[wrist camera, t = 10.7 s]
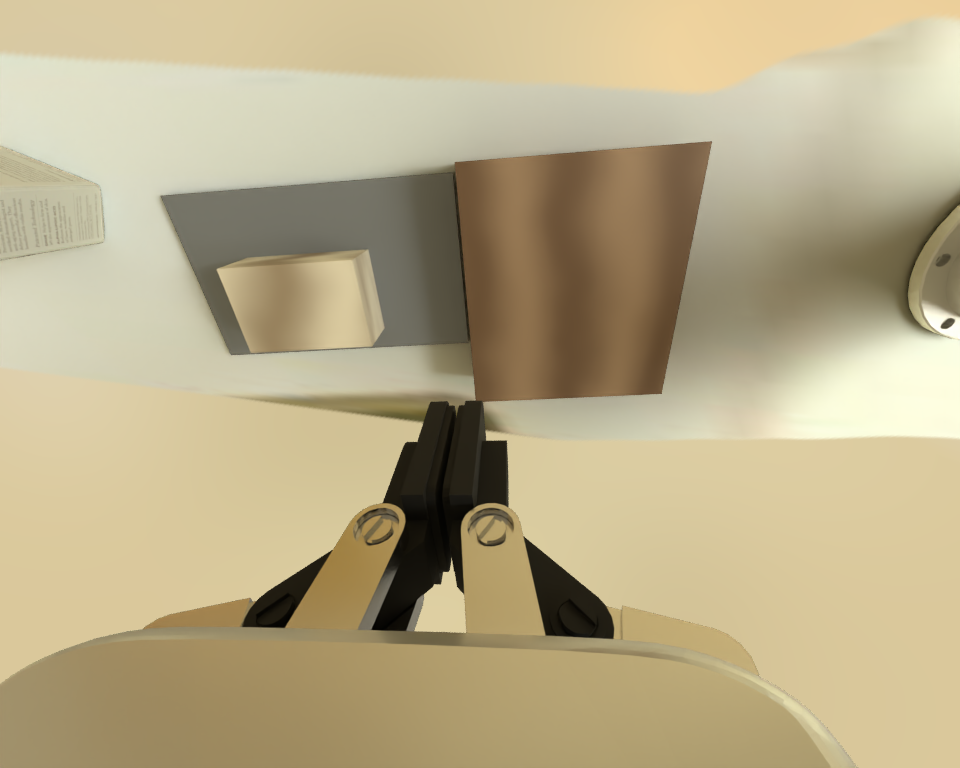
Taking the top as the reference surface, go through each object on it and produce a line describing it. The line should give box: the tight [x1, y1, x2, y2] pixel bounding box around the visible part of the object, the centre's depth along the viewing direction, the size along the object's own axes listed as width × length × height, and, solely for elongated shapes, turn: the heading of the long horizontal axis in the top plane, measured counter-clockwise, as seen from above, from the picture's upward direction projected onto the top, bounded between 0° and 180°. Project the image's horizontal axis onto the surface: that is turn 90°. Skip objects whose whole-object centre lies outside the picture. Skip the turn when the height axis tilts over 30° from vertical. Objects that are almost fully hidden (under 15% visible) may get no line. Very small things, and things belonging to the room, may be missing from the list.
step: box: [455, 141, 712, 402], centre depth 26 cm, size 14×16×4 cm
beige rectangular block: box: [217, 249, 385, 353], centre depth 27 cm, size 9×6×4 cm, turn 94°
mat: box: [161, 173, 468, 355], centre depth 28 cm, size 20×12×1 cm, turn 94°
